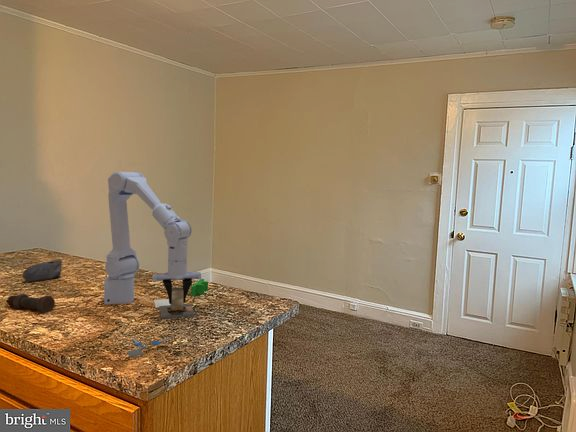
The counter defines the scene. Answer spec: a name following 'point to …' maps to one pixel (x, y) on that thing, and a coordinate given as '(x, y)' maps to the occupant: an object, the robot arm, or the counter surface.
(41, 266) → the perforated stone tool
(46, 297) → the dark brown elongated lump
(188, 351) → the counter surface
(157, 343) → the key chain
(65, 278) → the counter surface
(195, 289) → the pipe clamp
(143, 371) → the counter surface
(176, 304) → the birch peg
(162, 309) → the plate
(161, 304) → the white rectangular plate
